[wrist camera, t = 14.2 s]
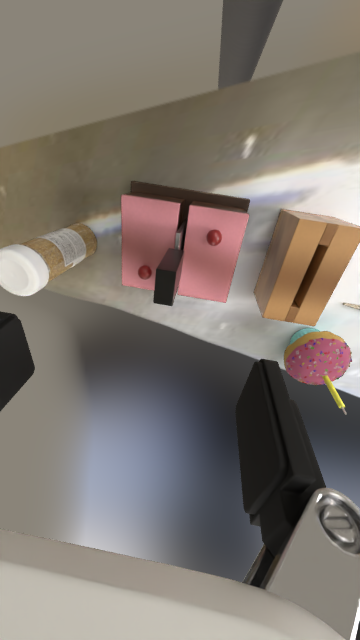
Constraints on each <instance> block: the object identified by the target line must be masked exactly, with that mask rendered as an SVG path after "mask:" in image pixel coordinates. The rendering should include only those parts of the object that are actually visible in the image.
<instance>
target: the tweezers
mask: <svg viewBox="0 0 360 640" xmlns="http://www.w3.org/2000/svg"><path fill="white" fill-rule="evenodd" d="M343 305H345V306H349V307H353V308H357V309H360V305H354V304H348V303H343Z"/></svg>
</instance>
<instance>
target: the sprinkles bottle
mask: <svg viewBox="0 0 360 640" xmlns="http://www.w3.org/2000/svg"><path fill="white" fill-rule="evenodd" d="M96 247H97V240H96V238H95V235H94V233H93V232H92V231H91V229H90V228H88V227H87V226H85V225H83V224H79V223H76V224H72V225H70V226H69V227H67V228H62V229H59V230H56V231H53V232H50V233H48V234H45V235H42V236H39V237H36V238H34V239H32V240H30V241H27V242H25V243H22V244H13V245H10V246H7V247H4V248H2V249H0V285H1V286H2V287H3V288H4V289H6V290H7V291H9V292H11V293H13V294H15V295H19V296H29V295H32V294H34V293H36V292H37V291H39V290H40V289H42V288H43V287H45V286H46V284H47V283H48V282H49V281H51V280H52V279H54V278H55V277H57V276H58V275H60V274H61V273H63V272H65V271H66V270H68V269H70V268H72V267H73V266H75V265H76V264H78V263H79V262H81V261H82V260H83V259H85V258H86V257H88V256H91V255H92V254H93V253H94V252H95V250H96Z"/></svg>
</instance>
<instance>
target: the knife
mask: <svg viewBox="0 0 360 640" xmlns="http://www.w3.org/2000/svg"><path fill="white" fill-rule="evenodd" d="M187 221H188V220H187V219H185V220H184V222H183V223H182V225H181V226H180V228H179V230H178V231H177V233H176V240H175V249H171V248H168V250H167V252H166V253H165V255H164V257H163V258H162V260H161V262H160V263H159V265H158V267H157V268H156V275H155V288H154V301H153V302H154V303H157V304H162V305H168V306H172V305H173V302H174V299H175V295H176V292H177V289H178V286H179V282H180V279H181V272H182V265H183V258H184V251H183V250H184V243H185V236H186V228H187Z"/></svg>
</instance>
